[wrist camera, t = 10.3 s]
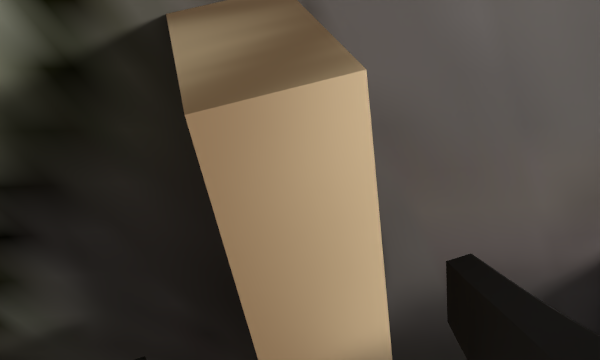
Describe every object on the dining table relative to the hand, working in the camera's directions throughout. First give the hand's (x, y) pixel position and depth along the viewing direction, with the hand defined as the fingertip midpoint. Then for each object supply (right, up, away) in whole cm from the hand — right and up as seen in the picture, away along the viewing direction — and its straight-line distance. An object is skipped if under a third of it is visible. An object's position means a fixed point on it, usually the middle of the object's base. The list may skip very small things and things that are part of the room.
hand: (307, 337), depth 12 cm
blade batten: (0, 0, +2) cm, 2 cm away
